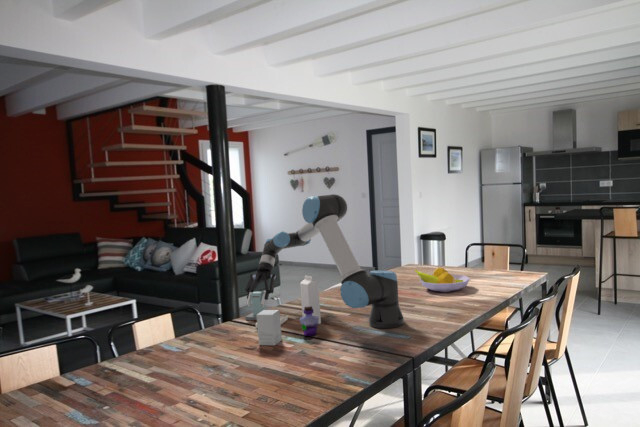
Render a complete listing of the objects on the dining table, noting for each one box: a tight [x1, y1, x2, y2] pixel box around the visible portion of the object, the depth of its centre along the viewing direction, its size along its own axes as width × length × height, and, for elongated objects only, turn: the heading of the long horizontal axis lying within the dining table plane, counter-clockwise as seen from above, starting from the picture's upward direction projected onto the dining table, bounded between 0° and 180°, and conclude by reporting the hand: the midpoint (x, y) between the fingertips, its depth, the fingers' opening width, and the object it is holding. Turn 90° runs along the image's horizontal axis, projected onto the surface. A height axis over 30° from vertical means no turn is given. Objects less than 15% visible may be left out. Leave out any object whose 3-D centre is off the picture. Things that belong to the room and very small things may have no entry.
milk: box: [299, 275, 322, 325], centre depth 216 cm, size 6×6×22 cm
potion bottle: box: [299, 306, 319, 338], centre depth 201 cm, size 9×9×12 cm
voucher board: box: [255, 314, 288, 329], centre depth 222 cm, size 14×10×2 cm
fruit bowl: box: [414, 267, 471, 293], centre depth 264 cm, size 28×27×11 cm
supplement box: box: [256, 309, 283, 346], centre depth 194 cm, size 7×7×13 cm
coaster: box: [245, 312, 257, 321], centre depth 235 cm, size 10×10×2 cm
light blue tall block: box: [251, 290, 266, 315], centre depth 234 cm, size 5×4×11 cm
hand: (255, 305), depth 231 cm, fingers open, 7 cm apart
